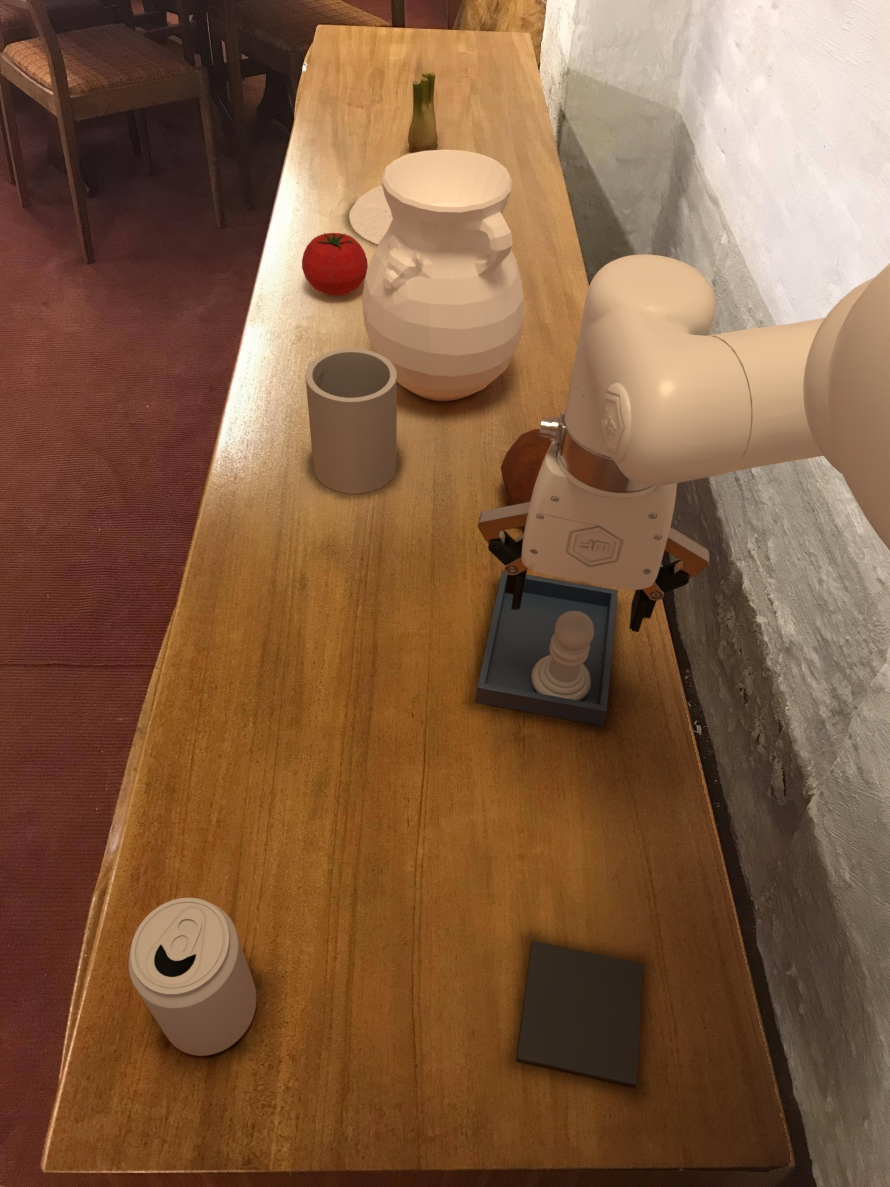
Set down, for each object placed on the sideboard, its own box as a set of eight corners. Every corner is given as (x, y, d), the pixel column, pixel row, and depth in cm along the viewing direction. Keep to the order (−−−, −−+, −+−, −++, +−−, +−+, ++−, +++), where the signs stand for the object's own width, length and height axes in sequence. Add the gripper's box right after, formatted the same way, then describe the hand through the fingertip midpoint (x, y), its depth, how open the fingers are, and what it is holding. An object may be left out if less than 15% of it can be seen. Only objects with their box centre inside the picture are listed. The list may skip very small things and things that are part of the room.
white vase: (334, 372, 111) (321, 166, 92) (445, 321, 119) (455, 123, 101) (433, 448, 102) (442, 237, 83) (546, 388, 110) (577, 184, 92)
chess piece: (589, 661, 82) (606, 596, 76) (591, 709, 79) (609, 646, 72) (530, 656, 82) (543, 591, 76) (530, 704, 79) (543, 640, 72)
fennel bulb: (414, 160, 152) (416, 82, 143) (400, 148, 154) (400, 72, 145) (444, 153, 154) (447, 77, 145) (429, 142, 156) (431, 67, 147)
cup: (395, 494, 97) (395, 403, 88) (310, 492, 96) (301, 400, 87) (397, 440, 103) (397, 349, 94) (317, 438, 102) (310, 347, 93)
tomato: (381, 286, 125) (380, 230, 119) (342, 313, 119) (339, 257, 113) (330, 266, 127) (327, 211, 121) (290, 292, 122) (285, 236, 116)
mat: (635, 1087, 59) (637, 1085, 59) (515, 1060, 60) (516, 1058, 60) (641, 966, 65) (643, 963, 64) (531, 943, 65) (532, 940, 65)
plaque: (424, 175, 147) (424, 166, 146) (507, 225, 138) (507, 216, 136) (323, 215, 139) (322, 205, 138) (404, 271, 129) (404, 261, 128)
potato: (499, 537, 93) (506, 479, 87) (496, 464, 101) (502, 406, 95) (572, 540, 93) (584, 482, 87) (564, 467, 101) (574, 409, 95)
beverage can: (146, 1044, 60) (102, 984, 51) (187, 950, 64) (153, 879, 55) (236, 1070, 59) (208, 1014, 50) (271, 973, 63) (251, 905, 54)
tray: (602, 726, 78) (606, 711, 76) (475, 702, 79) (477, 687, 78) (613, 605, 87) (618, 589, 86) (500, 585, 89) (502, 569, 87)
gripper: (479, 459, 59) (463, 623, 72) (747, 504, 57) (681, 663, 70) (497, 391, 64) (479, 556, 77) (744, 430, 62) (683, 592, 75)
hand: (575, 607), depth 73 cm, fingers open, 9 cm apart
